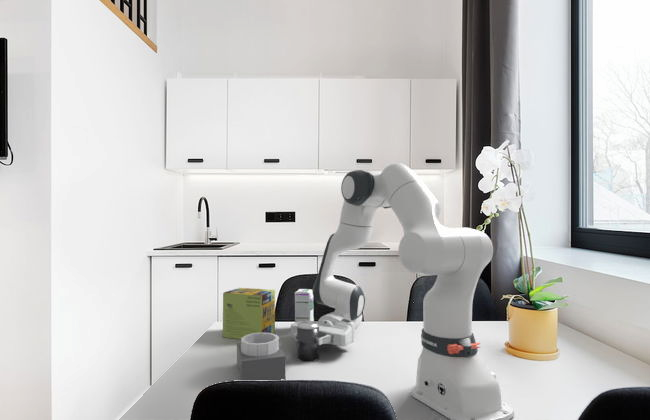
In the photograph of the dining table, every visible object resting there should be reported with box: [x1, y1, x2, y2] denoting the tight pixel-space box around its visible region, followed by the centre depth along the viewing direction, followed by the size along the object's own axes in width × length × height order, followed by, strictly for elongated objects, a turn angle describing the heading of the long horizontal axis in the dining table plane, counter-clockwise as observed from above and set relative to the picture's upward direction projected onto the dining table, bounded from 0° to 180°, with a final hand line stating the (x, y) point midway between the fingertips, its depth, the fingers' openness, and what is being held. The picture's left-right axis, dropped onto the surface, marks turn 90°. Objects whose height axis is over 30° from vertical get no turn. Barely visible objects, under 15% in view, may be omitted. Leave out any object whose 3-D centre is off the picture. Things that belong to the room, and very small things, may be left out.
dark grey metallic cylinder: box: [296, 320, 320, 363], centre depth 112 cm, size 6×6×10 cm
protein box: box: [222, 287, 276, 340], centre depth 133 cm, size 10×15×16 cm
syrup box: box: [294, 288, 315, 323], centre depth 139 cm, size 6×6×14 cm
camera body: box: [236, 332, 287, 380], centre depth 102 cm, size 14×11×9 cm
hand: (306, 339), depth 111 cm, fingers closed on dark grey metallic cylinder, 6 cm apart
